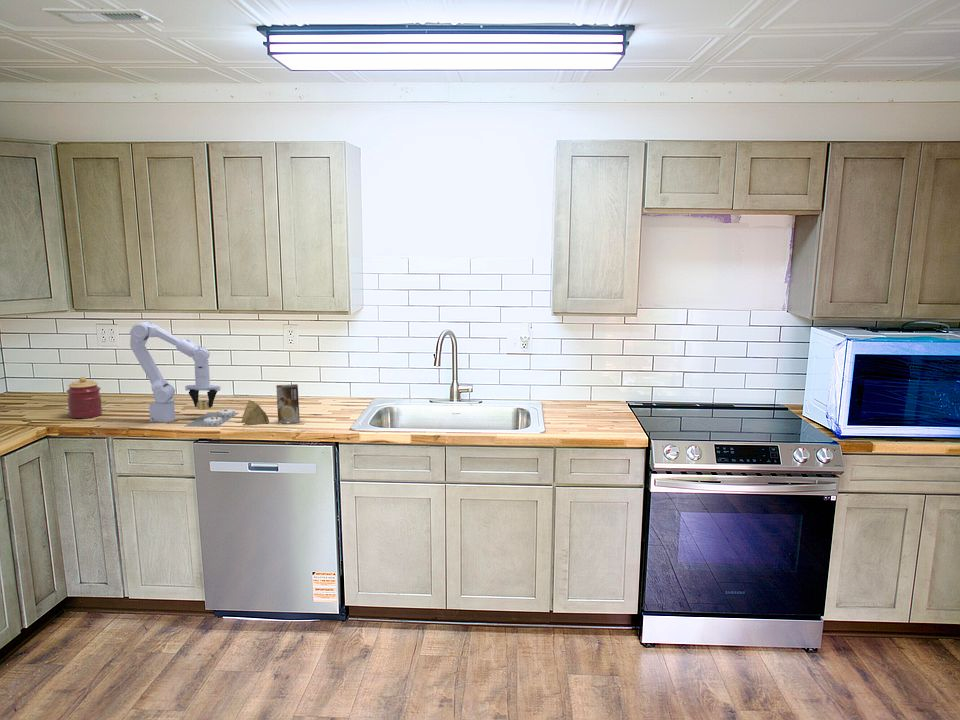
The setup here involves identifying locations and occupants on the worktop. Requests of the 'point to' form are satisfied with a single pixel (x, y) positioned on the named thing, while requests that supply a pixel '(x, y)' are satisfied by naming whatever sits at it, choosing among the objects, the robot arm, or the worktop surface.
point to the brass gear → (203, 405)
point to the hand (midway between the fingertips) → (203, 406)
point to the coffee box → (288, 403)
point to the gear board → (213, 418)
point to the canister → (84, 399)
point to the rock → (254, 414)
